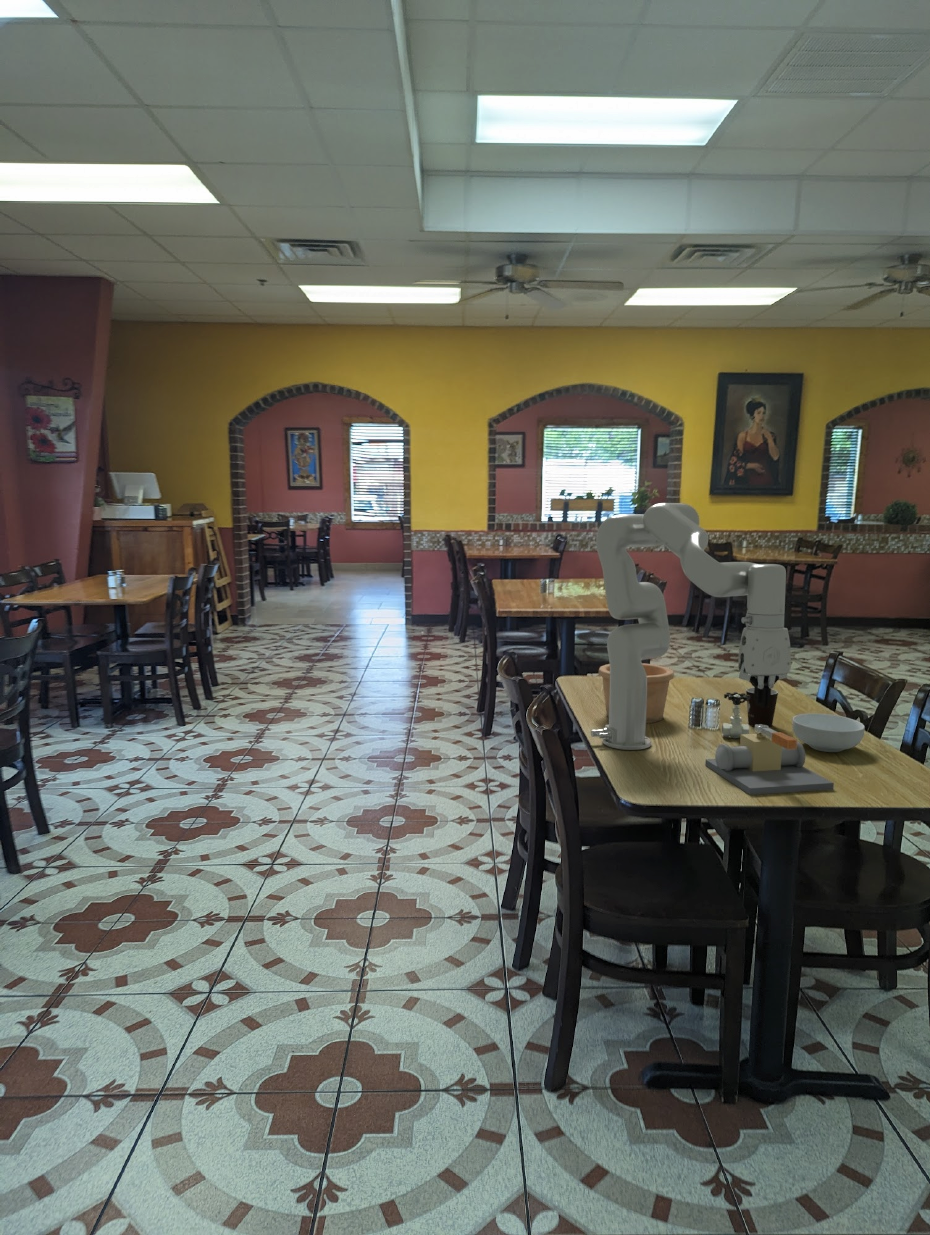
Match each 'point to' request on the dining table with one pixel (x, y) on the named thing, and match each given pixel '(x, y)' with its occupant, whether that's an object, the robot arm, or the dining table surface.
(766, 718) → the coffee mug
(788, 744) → the valve lever
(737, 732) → the valve
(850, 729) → the cereal bowl
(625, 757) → the dining table surface
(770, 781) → the valve board
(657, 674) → the pottery
